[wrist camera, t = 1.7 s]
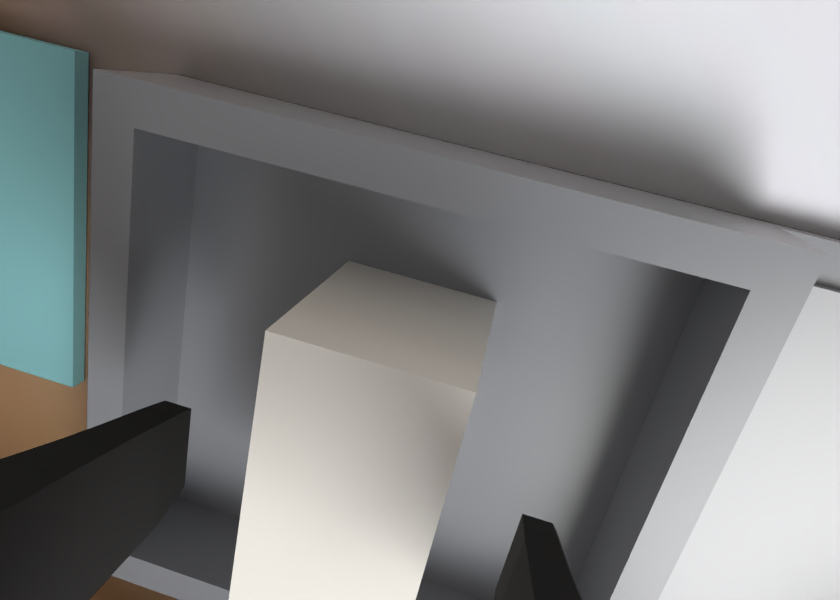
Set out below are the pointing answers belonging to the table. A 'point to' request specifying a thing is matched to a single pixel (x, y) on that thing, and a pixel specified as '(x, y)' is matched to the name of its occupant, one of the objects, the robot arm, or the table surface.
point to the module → (356, 437)
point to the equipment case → (506, 349)
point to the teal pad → (43, 207)
